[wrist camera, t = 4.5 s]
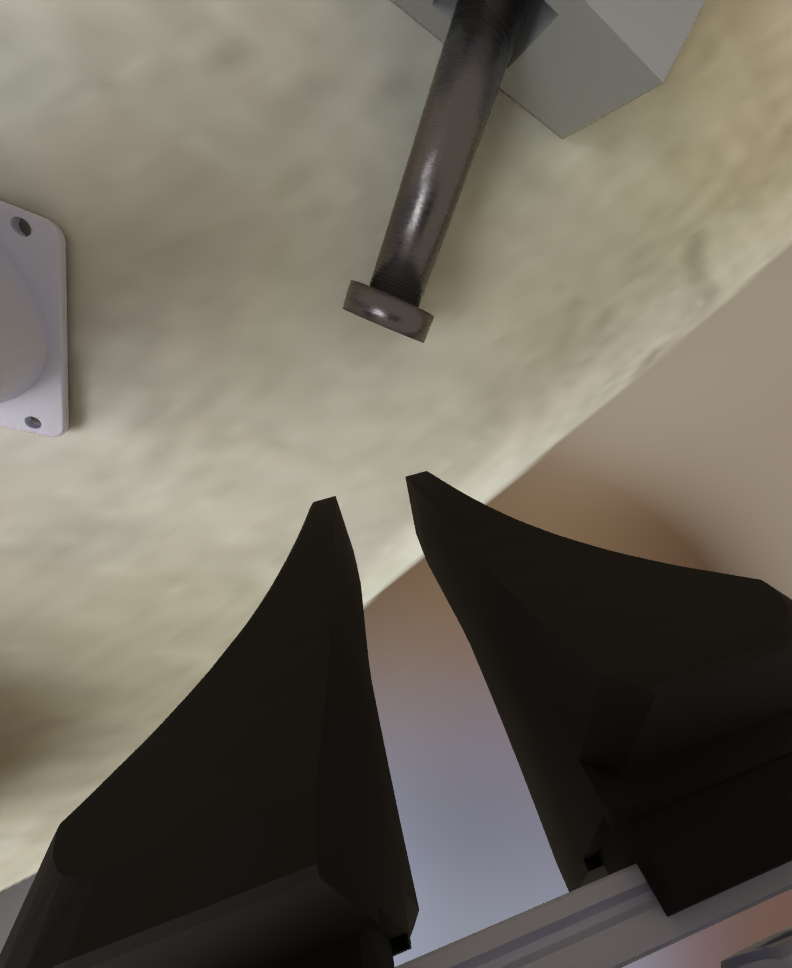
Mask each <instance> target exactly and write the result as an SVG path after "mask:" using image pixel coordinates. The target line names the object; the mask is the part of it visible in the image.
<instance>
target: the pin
mask: <svg viewBox="0 0 792 968" xmlns="http://www.w3.org/2000/svg"><path fill="white" fill-rule="evenodd" d="M530 3H531V0H457V3H456V6H455V10H454V13H453V16H452V19H451V23H450V26H449V29H448V32H447V36H446V39H445V42H444V45H443V49H442V52H441V55H440V58H439V62H438V65H437V68H436V71H435V75H434V78H433V81H432V84H431V88H430V91H429V94H428V97H427V101H426V104H425V107H424V110H423V114H422V117H421V120H420V123H419V127H418V130H417V133H416V136H415V140H414V143H413V146H412V149H411V153H410V156H409V159H408V162H407V166H406V169H405V172H404V175H403V179H402V182H401V185H400V188H399V191H398V195H397V198H396V201H395V204H394V208H393V211H392V214H391V217H390V221H389V224H388V227H387V230H386V234H385V237H384V240H383V243H382V247H381V250H380V253H379V256H378V260H377V263H376V266H375V269H374V273H373V276H372V279H371V282H370V286H368V285H365V284H363V283H360V282H357V281H354V280H351V281H350V285H349V288H348V292H347V295H346V299H345V302H344V306H343V309H345V310H347V311H349V312H351V313H353V314H356V315H358V316H360V317H362V318H365V319H367V320H369V321H372V322H374V323H376V324H379V325H381V326H383V327H386V328H388V329H391V330H393V331H395V332H398V333H400V334H403V335H405V336H407V337H410V338H412V339H415V340H417V341H420V342H423V343H424V341H425V339H426V336H427V334H428V331H429V329H430V326H431V323H432V321H433V318H434V316H433V315H431V314H429V313H428V312H426V311H424V310H422V309H420V308H418V307H419V304H420V301H421V299H422V296H423V293H424V291H425V288H426V285H427V282H428V280H429V277H430V274H431V272H432V269H433V266H434V263H435V261H436V258H437V255H438V253H439V250H440V247H441V244H442V242H443V239H444V236H445V234H446V231H447V228H448V226H449V223H450V220H451V217H452V215H453V212H454V209H455V207H456V204H457V201H458V198H459V196H460V193H461V190H462V188H463V185H464V182H465V179H466V177H467V174H468V171H469V169H470V166H471V163H472V160H473V158H474V155H475V152H476V150H477V147H478V144H479V141H480V139H481V136H482V133H483V131H484V128H485V125H486V122H487V120H488V117H489V114H490V112H491V109H492V106H493V103H494V101H495V98H496V95H497V93H498V90H499V87H500V85H501V82H502V79H503V76H504V74H505V71H506V68H507V66H508V63H509V60H510V57H511V55H512V52H513V49H514V47H515V44H516V41H517V38H518V36H519V33H520V30H521V28H522V25H523V22H524V19H525V17H526V14H527V11H528V9H529V6H530Z"/></svg>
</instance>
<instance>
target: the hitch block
mask: <svg viewBox="0 0 792 968" xmlns="http://www.w3.org/2000/svg"><path fill="white" fill-rule="evenodd" d="M392 1H393V2H394V3H395V4H397V5H398V6H399V7H400V8H402V9H403V10H404V11H405V12H406V13H408V14H409V15H410V16H411V17H413V18H414V19H415V20H416V21H418V22H419V23H420V24H421V25H423V26H424V27H425V28H426V29H427V30H429V31H430V32H431V33H432V34H434V35H435V36H436V37H437V38H439V39H440V40H441V41H442V42H445V39H446V36H447V32H448V29H449V26H450V23H451V19H452V16H453V13H454V10H455V6H456V3H457V0H392ZM705 1H706V0H531V3H530V6H529V9H528V11H527V14H526V17H525V19H524V22H523V25H522V28H521V30H520V33H519V36H518V38H517V41H516V44H515V47H514V49H513V52H512V55H511V57H510V60H509V63H508V66H507V68H506V71H505V74H504V76H503V79H502V82H501V85H500V87H499V88H500V89H502V90H503V91H504V92H505V93H507V94H508V95H509V96H510V97H511V98H513V99H514V100H515V101H516V102H518V103H519V104H520V105H521V106H523V107H524V108H525V109H526V110H528V111H529V112H530V113H531V114H532V115H534V116H535V117H536V118H537V119H539V120H540V121H541V122H542V123H544V124H545V125H546V126H547V127H549V128H550V129H551V130H552V131H553V132H555V133H556V134H557V135H558V136H560V137H561V138H562V139H564V138H566V137H567V136H569V135H571V134H573V133H575V132H576V131H578V130H580V129H582V128H584V127H585V126H587V125H589V124H591V123H593V122H594V121H596V120H598V119H600V118H602V117H603V116H605V115H607V114H609V113H611V112H612V111H614V110H616V109H618V108H620V107H621V106H623V105H625V104H627V103H629V102H630V101H632V100H634V99H636V98H638V97H639V96H641V95H643V94H645V93H647V92H648V91H650V90H652V89H654V88H655V87H657V86H659V85H661V84H663V83H664V81H665V79H666V77H667V75H668V73H669V71H670V69H671V67H672V65H673V63H674V61H675V59H676V57H677V55H678V54H679V52H680V50H681V48H682V46H683V44H684V42H685V40H686V38H687V36H688V34H689V32H690V30H691V28H692V26H693V24H694V22H695V20H696V18H697V16H698V14H699V12H700V11H701V9H702V7H703V5H704V3H705Z"/></svg>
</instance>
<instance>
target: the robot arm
mask: <svg viewBox="0 0 792 968" xmlns="http://www.w3.org/2000/svg"><path fill="white" fill-rule="evenodd" d="M21 219H24V220H26V221H27V222H28V224H29V225H30V227H31V230H32V231H31V235H29V236H27V235H25V234H24V233H23V232H22V231H21V230H20V227H19V221H20V220H21ZM31 416H32V417H35V418H37V419H38V420H39V421H40V422H41V425H38V424H35V423H34V422H33V421H32V419H31ZM0 426H2V427H6V428H11V429H16V430H21V431H26V432H31V433H35V434H40V435H45V436H50V437H57V436H61V435H62V434H64V433H65V432H66V431H67V430H68V427H69V412H68V351H67V289H66V241H65V237H64V234H63V233H62V231H61V229H60V228H59V227H58V226H57V225H56V224H55V223H54V222H52V221H50V220H49V219H47V218H44V217H42V216H39V215H37V214H34V213H32V212H29V211H26V210H24V209H21V208H19V207H16V206H14V205H11V204H8V203H6V202H3V201H1V200H0ZM406 482H407V487H408V493H409V498H410V503H411V509H412V514H413V520H414V525H415V530H416V534H417V537H418V540H419V542H420V545H421V548H422V550H423V553H424V555H425V558H426V560H427V563H428V564H429V567H430V568H431V570H432V572H433V574H434V576H435V578H436V580H437V582H438V584H439V585H440V587H441V589H442V591H443V593H444V595H445V596H446V598H447V600H448V602H449V604H450V606H451V608H452V610H453V612H454V613H455V615H456V617H457V619H458V621H459V623H460V625H461V627H462V628H463V630H464V633H465V635H466V637H467V639H468V641H469V643H470V645H471V647H472V650H473V652H474V654H475V657H476V659H477V662H478V664H479V666H480V669H481V671H482V673H483V676H484V678H485V681H486V683H487V686H488V688H489V691H490V693H491V695H492V698H493V700H494V703H495V705H496V708H497V710H498V713H499V715H500V718H501V720H502V722H503V725H504V727H505V730H506V733H507V735H508V738H509V740H510V743H511V745H512V748H513V750H514V753H515V755H516V758H517V760H518V763H519V765H520V768H521V771H522V773H523V776H524V778H525V781H526V783H527V786H528V789H529V791H530V794H531V796H532V799H533V801H534V804H535V807H536V810H537V812H538V815H539V817H540V820H541V823H542V825H543V828H544V831H545V833H546V836H547V838H548V841H549V844H550V846H551V849H552V852H553V855H554V857H555V860H556V863H557V865H558V867H559V870H560V872H561V874H562V877H563V879H564V881H565V883H566V886H567V888H568V890H569V893H567V894H564V895H562V896H560V897H557V898H555V899H553V900H551V901H548V902H546V903H543V904H541V905H539V906H536V907H534V908H532V909H529V910H527V911H525V912H522V913H520V914H518V915H515V916H513V917H511V918H508V919H506V920H504V921H501V922H499V923H497V924H495V925H492V926H490V927H488V928H485V929H483V930H481V931H479V932H476V933H474V934H471V935H469V936H467V937H464V938H462V939H460V940H457V941H455V942H453V943H450V944H448V945H446V946H443V947H441V948H439V949H436V950H434V951H432V952H429V953H427V954H425V955H422V956H420V957H418V958H415V959H413V960H411V961H408V962H406V963H404V964H401V965H399V966H397V967H395V968H622V967H624V966H626V965H628V964H630V963H632V962H634V961H637V960H639V959H641V958H643V957H645V956H647V955H650V954H652V953H654V952H656V951H658V950H660V949H663V948H665V947H667V946H669V945H671V944H673V943H675V942H678V941H680V940H682V939H684V938H686V937H688V936H691V935H693V934H695V933H697V932H699V931H701V930H703V929H706V928H708V927H710V926H712V925H714V924H716V923H719V922H721V921H723V920H725V919H727V918H729V917H731V916H734V915H736V914H738V913H740V912H742V911H744V910H747V909H749V908H751V907H753V906H755V905H757V904H759V903H762V902H764V901H766V900H768V899H770V898H773V897H775V896H777V895H779V894H781V893H783V892H785V891H788V890H790V889H792V600H791V599H790V598H788V597H787V596H785V595H784V594H782V593H781V592H779V591H777V590H776V589H775V588H773V587H771V586H770V585H768V584H767V583H765V582H763V581H762V580H759V579H752V578H747V577H741V576H734V575H729V574H722V573H717V572H711V571H705V570H699V569H693V568H687V567H682V566H676V565H671V564H666V563H662V562H657V561H652V560H648V559H643V558H639V557H634V556H630V555H625V554H622V553H618V552H614V551H610V550H606V549H602V548H599V547H595V546H592V545H588V544H585V543H581V542H578V541H574V540H572V539H568V538H565V537H562V536H559V535H556V534H553V533H550V532H548V531H544V530H542V529H540V528H537V527H534V526H531V525H529V524H526V523H524V522H521V521H519V520H516V519H514V518H512V517H510V516H507V515H505V514H503V513H501V512H499V511H497V510H495V509H492V508H490V507H488V506H486V505H484V504H482V503H480V502H479V501H477V500H475V499H473V498H471V497H469V496H468V495H466V494H464V493H462V492H460V491H459V490H457V489H455V488H454V487H452V486H450V485H449V484H447V483H445V482H444V481H442V480H440V479H439V478H437V477H436V476H434V475H432V474H431V473H429V472H427V471H425V472H421V473H418V474H414V475H410V476H407V477H406ZM418 912H419V907H418V902H417V898H416V893H415V888H414V884H413V879H412V875H411V870H410V865H409V861H408V856H407V851H406V847H405V843H404V837H403V833H402V828H401V823H400V819H399V814H398V809H397V805H396V799H395V795H394V790H393V786H392V780H391V775H390V771H389V766H388V761H387V756H386V751H385V747H384V742H383V736H382V731H381V726H380V721H379V716H378V711H377V706H376V701H375V697H374V691H373V685H372V681H371V674H370V667H369V661H368V650H367V642H366V632H365V621H364V611H363V601H362V592H361V583H360V578H359V573H358V569H357V564H356V560H355V555H354V551H353V548H352V545H351V542H350V539H349V536H348V533H347V530H346V527H345V523H344V520H343V517H342V514H341V511H340V508H339V505H338V502H337V499H336V496H334V497H330V498H327V499H323V500H319V501H316V502H313V504H312V505H311V507H310V510H309V512H308V515H307V517H306V519H305V522H304V524H303V526H302V529H301V531H300V533H299V535H298V537H297V540H296V542H295V544H294V546H293V548H292V550H291V552H290V554H289V556H288V558H287V560H286V562H285V563H284V565H283V567H282V569H281V570H280V572H279V574H278V576H277V577H276V579H275V581H274V583H273V585H272V586H271V588H270V589H269V591H268V593H267V594H266V596H265V597H264V599H263V601H262V602H261V604H260V605H259V607H258V608H257V610H256V611H255V612H254V614H253V615H252V617H251V618H250V620H249V621H248V623H247V624H246V625H245V627H244V628H243V629H242V631H241V632H240V633H239V634H238V636H237V637H236V638H235V639H234V641H233V642H232V643H231V644H230V646H229V647H228V648H227V649H226V651H225V652H224V653H223V654H222V656H221V657H220V658H219V659H218V661H217V662H216V663H215V664H214V666H213V667H212V668H211V669H210V671H209V672H208V673H207V674H206V675H205V676H204V678H203V679H202V680H201V681H200V682H199V683H198V684H197V685H196V687H195V688H194V689H193V690H192V691H191V692H190V693H189V695H188V696H187V697H186V698H185V699H184V700H183V701H182V702H181V703H180V704H179V705H178V707H177V708H176V709H175V710H174V711H173V712H172V713H171V714H170V715H169V716H168V717H167V718H166V719H165V721H164V722H163V723H162V724H161V725H160V726H159V727H158V728H157V729H156V730H155V731H154V732H153V733H152V734H151V735H150V736H149V737H148V738H147V739H146V740H145V741H144V743H143V744H142V745H141V746H140V747H139V748H138V749H136V750H135V751H134V752H133V753H132V754H131V755H130V756H129V757H128V758H127V759H126V760H125V761H124V762H123V763H122V764H121V765H120V766H119V767H118V768H117V769H116V770H115V771H114V772H113V773H112V774H111V775H110V776H109V777H108V778H107V779H106V780H105V781H104V782H103V783H102V784H101V785H100V786H99V787H98V788H97V789H96V790H95V791H94V792H93V793H92V794H91V795H90V796H89V797H88V798H87V799H86V800H85V801H84V802H83V803H82V804H81V805H80V806H79V807H77V808H76V809H75V810H74V811H73V812H72V813H71V814H70V815H69V816H68V817H67V818H66V819H65V820H64V821H63V822H62V823H61V824H60V825H59V827H58V829H57V831H56V833H55V835H54V837H53V839H52V841H51V843H50V846H49V848H48V850H47V852H46V855H45V857H44V859H43V861H42V863H41V866H40V868H39V870H38V872H37V874H36V877H35V879H34V881H33V883H32V885H31V888H30V890H29V892H28V894H27V896H26V899H25V901H24V903H23V905H22V907H21V910H20V912H19V914H18V916H17V919H16V921H15V923H14V925H13V927H12V929H11V932H10V934H9V936H8V938H7V941H6V943H5V945H4V947H3V949H2V952H1V954H0V968H394V961H393V956H395V955H397V954H400V953H402V952H404V951H407V950H409V949H411V940H410V936H411V934H412V931H413V928H414V925H415V921H416V918H417V915H418ZM721 968H792V927H789V928H787V929H784V930H782V931H779V932H777V933H775V934H773V935H771V936H768V937H766V938H764V939H762V940H760V941H758V942H756V943H754V944H752V945H750V946H748V947H746V948H745V949H743V950H741V951H739V952H738V953H735V954H734V955H732V956H730V957H728V958H726V959H725V960H723V961H721Z"/></svg>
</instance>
